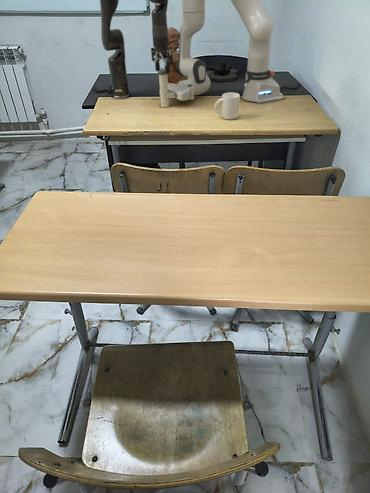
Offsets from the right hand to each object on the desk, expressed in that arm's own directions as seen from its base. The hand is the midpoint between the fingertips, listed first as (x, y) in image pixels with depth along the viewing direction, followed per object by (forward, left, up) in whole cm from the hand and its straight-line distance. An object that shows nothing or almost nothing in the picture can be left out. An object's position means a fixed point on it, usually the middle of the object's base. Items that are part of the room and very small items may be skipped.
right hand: (162, 94), depth 188 cm
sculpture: (-15, -41, -6) cm, 44 cm away
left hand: (-1, 0, +11) cm, 11 cm away
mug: (-28, +24, -6) cm, 37 cm away
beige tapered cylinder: (-1, 0, -6) cm, 6 cm away
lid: (-1, 0, +12) cm, 12 cm away
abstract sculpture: (-43, -44, -6) cm, 62 cm away
